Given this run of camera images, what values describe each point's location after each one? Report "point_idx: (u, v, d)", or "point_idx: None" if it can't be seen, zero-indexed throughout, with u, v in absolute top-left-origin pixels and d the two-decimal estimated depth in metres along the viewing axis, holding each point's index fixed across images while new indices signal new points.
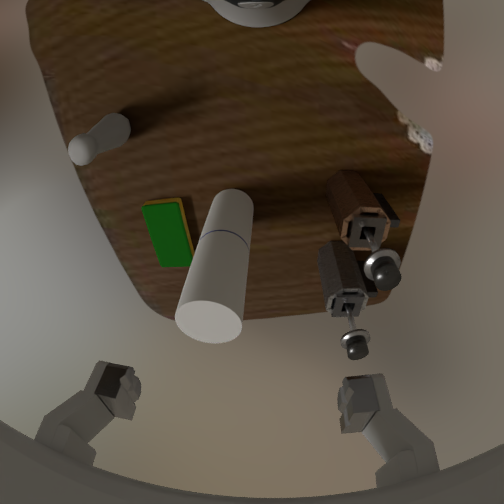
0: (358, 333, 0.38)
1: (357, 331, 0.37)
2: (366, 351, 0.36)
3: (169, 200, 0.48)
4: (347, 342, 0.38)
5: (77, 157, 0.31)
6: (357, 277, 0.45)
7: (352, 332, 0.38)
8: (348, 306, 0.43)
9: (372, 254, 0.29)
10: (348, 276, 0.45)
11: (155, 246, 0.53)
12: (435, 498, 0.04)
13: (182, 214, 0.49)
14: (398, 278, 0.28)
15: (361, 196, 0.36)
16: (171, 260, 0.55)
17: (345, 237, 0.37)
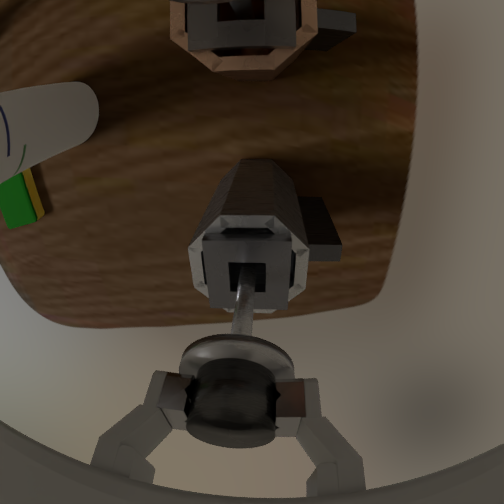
0: (231, 352, 0.09)
1: (224, 343, 0.09)
2: (262, 429, 0.08)
3: None
4: (195, 382, 0.10)
5: None
6: (280, 201, 0.18)
7: (205, 344, 0.09)
8: (244, 273, 0.16)
9: None
10: (250, 196, 0.17)
11: None
12: (435, 498, 0.04)
13: None
14: None
15: None
16: (14, 216, 0.28)
17: (183, 35, 0.10)
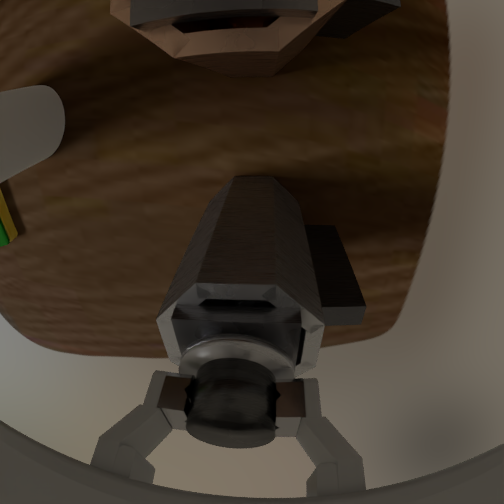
0: (231, 352, 0.09)
1: (224, 343, 0.09)
2: (262, 429, 0.08)
3: None
4: (195, 381, 0.10)
5: None
6: (284, 248, 0.13)
7: (204, 344, 0.09)
8: None
9: None
10: (243, 243, 0.12)
11: None
12: (435, 498, 0.04)
13: None
14: None
15: None
16: None
17: (130, 5, 0.05)
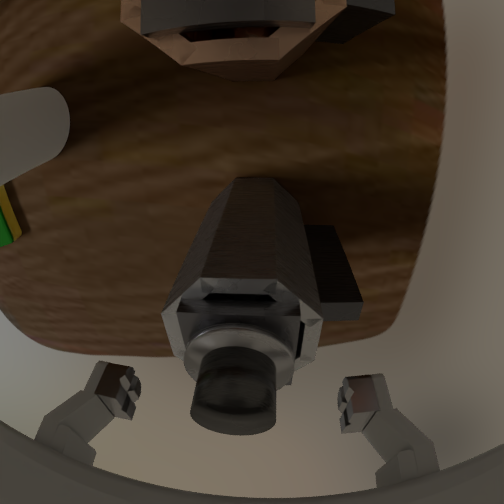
0: (234, 340, 0.10)
1: (228, 331, 0.10)
2: (263, 414, 0.09)
3: None
4: (199, 370, 0.10)
5: None
6: (284, 246, 0.13)
7: (209, 333, 0.10)
8: None
9: None
10: (245, 241, 0.13)
11: None
12: (435, 498, 0.04)
13: None
14: None
15: None
16: None
17: (139, 14, 0.06)
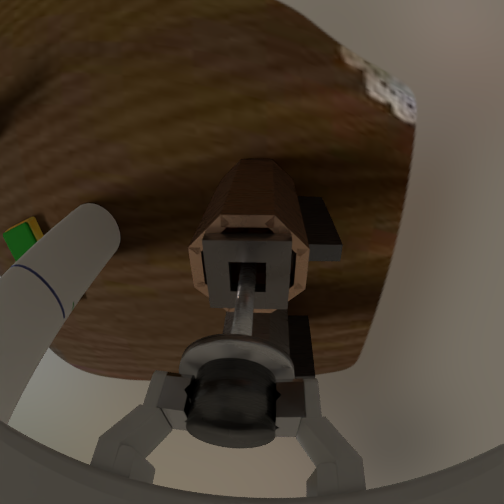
0: None
1: None
2: None
3: (23, 221, 0.29)
4: None
5: None
6: None
7: None
8: None
9: (189, 349, 0.10)
10: None
11: None
12: (435, 498, 0.04)
13: (36, 238, 0.30)
14: (264, 433, 0.08)
15: (244, 194, 0.17)
16: None
17: (204, 285, 0.17)
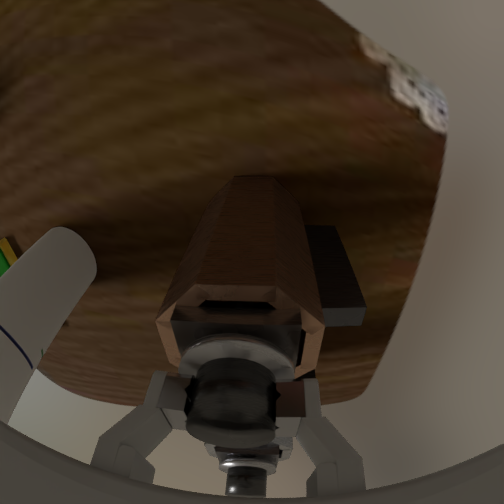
0: (245, 465, 0.17)
1: (243, 462, 0.16)
2: (259, 495, 0.15)
3: None
4: (227, 473, 0.17)
5: None
6: None
7: (233, 461, 0.17)
8: None
9: (189, 349, 0.10)
10: None
11: None
12: (435, 498, 0.04)
13: (9, 261, 0.25)
14: (264, 433, 0.08)
15: (233, 241, 0.12)
16: None
17: None
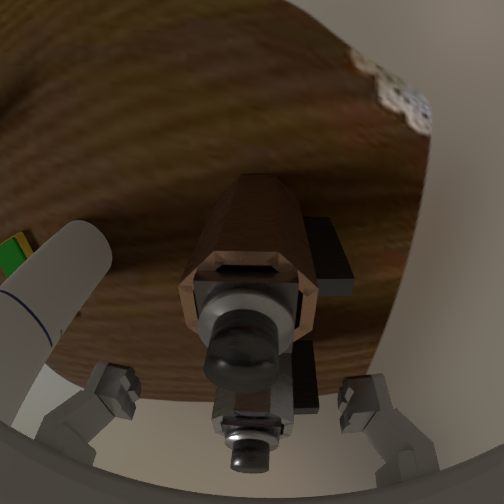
0: (250, 437, 0.19)
1: (247, 434, 0.19)
2: (263, 467, 0.18)
3: (11, 237, 0.27)
4: (233, 446, 0.19)
5: None
6: (275, 383, 0.22)
7: (238, 434, 0.19)
8: None
9: (207, 304, 0.12)
10: None
11: None
12: (435, 498, 0.04)
13: (25, 253, 0.28)
14: (269, 370, 0.11)
15: (243, 222, 0.15)
16: None
17: None
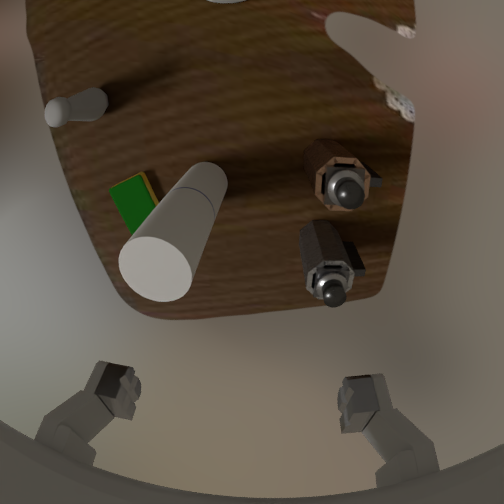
0: (334, 277, 0.38)
1: (332, 274, 0.37)
2: (343, 295, 0.36)
3: (133, 176, 0.45)
4: (323, 287, 0.38)
5: (51, 118, 0.28)
6: (341, 251, 0.41)
7: (327, 275, 0.38)
8: None
9: (333, 175, 0.31)
10: (330, 250, 0.41)
11: (131, 230, 0.50)
12: (435, 498, 0.04)
13: (147, 187, 0.46)
14: (361, 194, 0.29)
15: (336, 151, 0.33)
16: None
17: (320, 194, 0.33)
